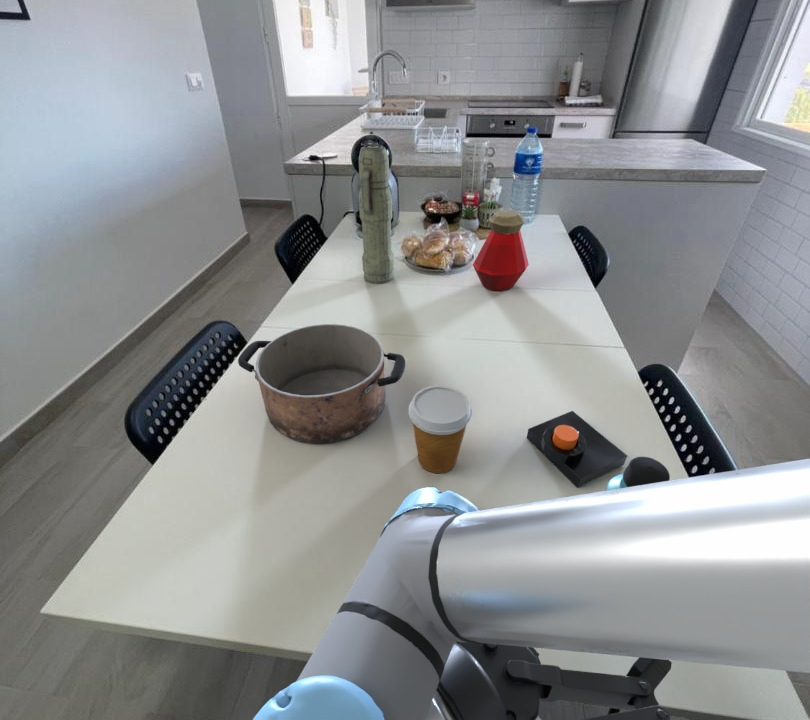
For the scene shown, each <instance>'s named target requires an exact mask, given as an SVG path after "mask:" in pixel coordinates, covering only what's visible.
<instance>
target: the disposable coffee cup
mask: <svg viewBox="0 0 810 720" xmlns="http://www.w3.org/2000/svg"><path fill="white" fill-rule="evenodd" d="M407 412H408V416H409V418H410V420H411V421H412V427H413V434H414V439H415V446H416V452H417V458H418V463H419V465H420V466H421V467H422V468H423V469H424V470H425V471H426V472H430V473H433V474H445V473H447V472H450V471H452V470H453V469H454V468H455V466H456V465H457V461H458V457H459V454H460V450H461V446H462V442H463V439H464V435H465V432H466V429H467V425H468V423H469V422H470V421H471V418H472V414H473V410H472V407H471V404H470V401H469V399H468V398H467V396H466V395H465V394H464V393H463V392H462V391H460V390H459V389H456V388H454V387H451V386H447V385H440V384H439V385H430V386H426V387H424V388H421V389H420V390H418V391H417V392H416V393H415V394H414V395H413V397H412V399H411V401H410V402H409V405H408V411H407Z"/></svg>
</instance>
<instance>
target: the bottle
mask: <svg viewBox="0 0 810 720" xmlns="http://www.w3.org/2000/svg"><path fill="white" fill-rule="evenodd" d="M525 222H526V218H525V217H524V216H523V215H522V214H521V213H520V212H519V211H517V210H513V209H503V210H499V211H497V212H495V213H494V214H493V215H491V217H490V218H488V224H489V227H490V232H489V234H488V235H487V237H486V239H485V240H484V242H483V244H482V246H481V249H480V250H479V252H478V254H477V256H476V258H475V259H474V261H473V263H472V266H473V269H474V270H475V272H476V275H477V277H478V280H479V281H480V283H481V285H482V286H483V288H484V289H486V290H489V291H493V292H502V291H509V290H510V289H512V288H514V286H515V285H516V284H517V283H518V281H519V280H520V278H521V277H522V275H523V274H524V273H525V271H526V270H527V268H528V266H529V260H528V255H527V251H526V247H525V244H524V239H523V235H522V231H521V229H522V227H523V226H524V223H525Z"/></svg>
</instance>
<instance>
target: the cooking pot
mask: <svg viewBox="0 0 810 720" xmlns="http://www.w3.org/2000/svg"><path fill="white" fill-rule="evenodd" d="M259 349H261V351H260V353H258V355H257V359H256V361H255V365H253V364H251V363H249V361H250V360H251V359H252V357H253V356H254V355H255V354H256V353H257V351H258V350H259ZM385 358H386V359H387V360H388V361H393V362H394V364H393V368H392V369H391V373H390V376H386V374H385V373H386V372H385ZM237 363H238V366H239V367H240V368H242V369H243V370H244V371H247V372H249V373H252V372H253V373H254V378H255V380H256V381H257V382H258V385H259V389H260V394H261V397H262V401H263V406H264V409H265V412H266V416H267V418H268V421H269V423H270V425H271V426H272V427H273V428H274V429H275V431H277V432H279V433H280V434H281V435H283V436H285V437H287V438H289V439H292V440H294V441H297V442H298V441H299V442H302V443H309V444H328V443H334V442H339V441H343V440H347V439H349V438H352V437H354V436H357V435H358V434H360V433H362V432H363V431H365V430H366V429H368V428H369V427H370V426H372V425H373V424H374V423H375V422H376V421H377V419H378V418H379V417H380V416H381V414H382V412H383V410H384V408H385V405H386V398H387V396H386V386H389V385H393V384H396V383H398V382H399V381H400V380H401V379H402V377H403V375H404V372H405V369H406V359H405V357H404V356H403V355H402V354H399V353H396V352H395V353H394V352H388V353H386V352H385V350H384V348H383V346H382V343H381V342H380V340H378V339H377V337H375V336H374V335H373V334H371V332H368V331H366V330H364V329H361V328H360V327H356V326H352V325H347V324H338V323H319V324H311V325H307V326H302V327H299V328H295V329H292V330H290V331H288V332H285V333H283V334H281V335H279V336H277V337H276V338H273V340H255V341H253V342H251V343H250V344H249V345H247V347H245V349H244V350H243V351H242V352H241V354H240V355H239V357H238V359H237Z"/></svg>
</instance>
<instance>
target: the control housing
mask: <svg viewBox="0 0 810 720" xmlns="http://www.w3.org/2000/svg"><path fill="white" fill-rule="evenodd" d="M560 425H567V426H571V427H573V428H574V429H575V430H576V431H577V432H578V439H577V443H576V446H575V447H574V448H573V449H571V450H563V449H561V448H558V447H557V446H555V445H554V443H553V441H552V439H553V435H554V431H555V428H556V427H557V426H560ZM526 440H528V441H529V443H531V444H532V445H533V446H534V447H535V449H537V450H538V451H539V452H540V453H541V454H542V455H543V456H544V457H545V458H546V459H547V460H548V461H549V462H550V463H551V464H552V465H553V466H554V467H555V468H556V469H557V470H558V471H559V472H560V473H561V474H562V475H563V476H564V477H565V478H566V479H567V480H568V481H569V482H570V483H572V485H574V487H575V488H577V489H578V488H581V487H583V486H584V485H586V484H588V483H590V482H592V481H594V480H597V479H598V478H601V477H603V476H604V475H607V474H608V473H611V472H613V471H614V470H617V469H618V468H621V467H623V466H624V465H625V463H626V461H627V458H628V455H627V454H626V453H625V452H624V451H622V450H621V449H620V448H618V447H617V446H616V445H615V444H614V443H612V442H611V441H610V440H609V439H608V438H607V437H605V436H604V435H603V434H602V433H600V432H599V430H597V429H596V428H594V427H593V426H592V425H591V424H590V423H588V422H587V421H586V420H584V418H582V417H581V416H579V414H578V413H576V412H575V411H574V410H571V411H568V412H566V413H563V414H561V415H559V416H555V417H554V418H551V419H548V420H546V421H544V422H541V423H539V424H536V425H534V426H531V427H529V428H528V429H527V434H526Z"/></svg>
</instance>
